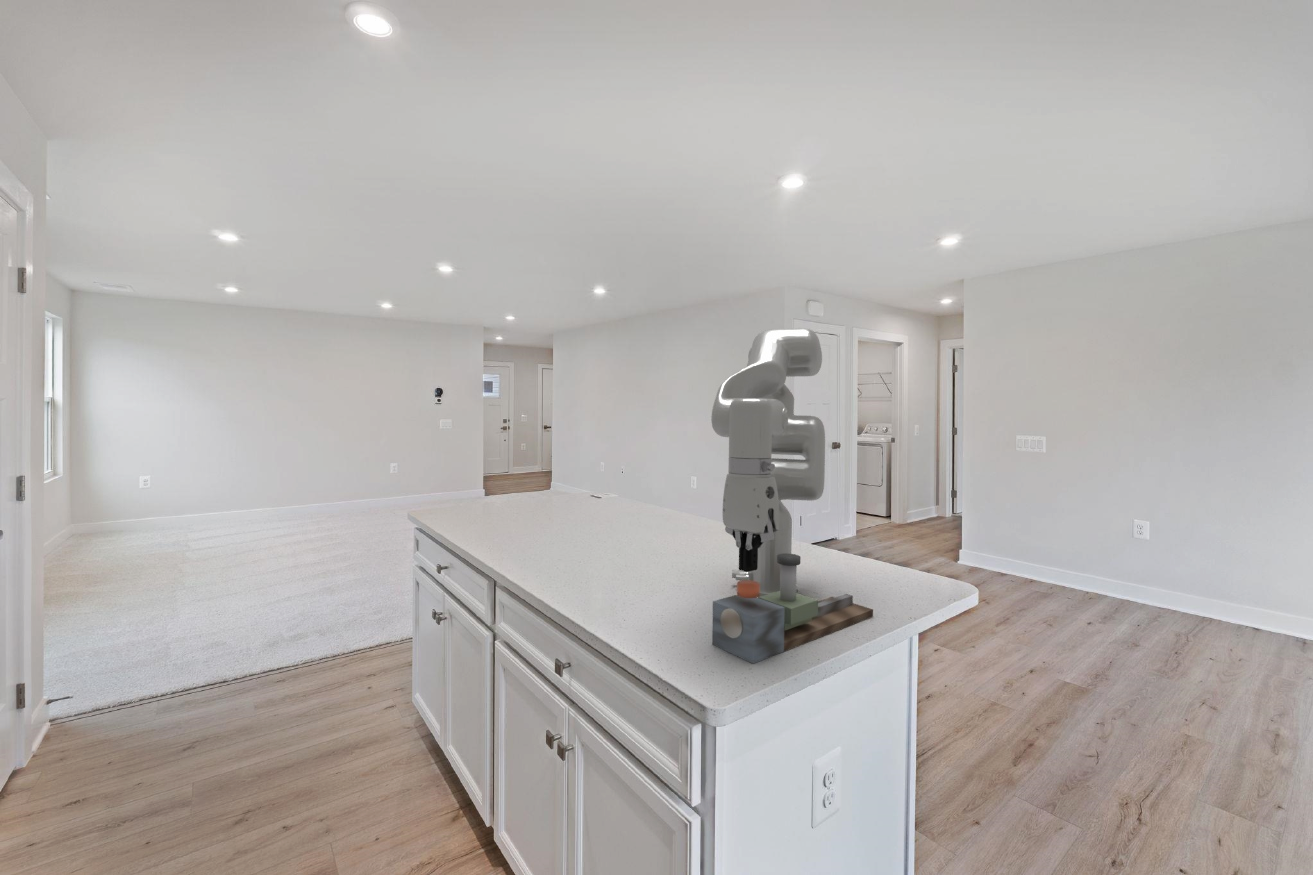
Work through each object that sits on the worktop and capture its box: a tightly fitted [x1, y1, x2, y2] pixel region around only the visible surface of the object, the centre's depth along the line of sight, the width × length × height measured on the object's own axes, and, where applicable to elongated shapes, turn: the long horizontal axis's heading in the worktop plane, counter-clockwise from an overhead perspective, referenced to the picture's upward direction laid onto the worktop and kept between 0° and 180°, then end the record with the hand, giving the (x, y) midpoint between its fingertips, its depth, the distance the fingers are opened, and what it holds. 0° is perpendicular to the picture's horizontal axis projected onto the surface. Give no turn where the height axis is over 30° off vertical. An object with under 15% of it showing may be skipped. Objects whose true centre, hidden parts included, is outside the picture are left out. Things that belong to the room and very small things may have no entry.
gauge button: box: [736, 580, 760, 598], centre depth 102 cm, size 4×4×2 cm
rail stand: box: [711, 593, 874, 664], centre depth 111 cm, size 37×10×8 cm, turn 128°
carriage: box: [757, 553, 819, 631], centre depth 109 cm, size 8×8×13 cm
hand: (748, 569), depth 102 cm, fingers closed
